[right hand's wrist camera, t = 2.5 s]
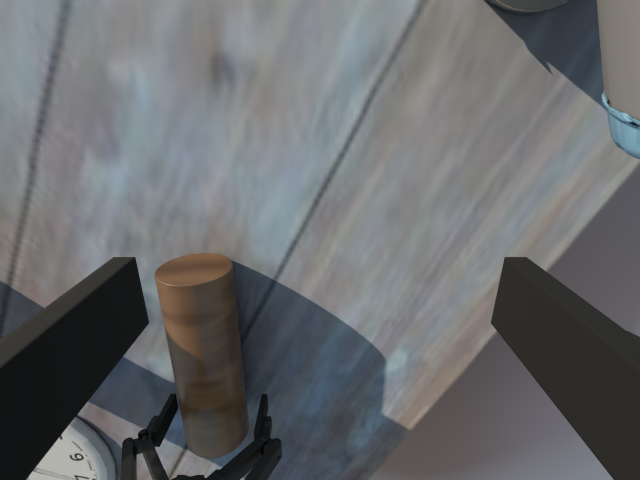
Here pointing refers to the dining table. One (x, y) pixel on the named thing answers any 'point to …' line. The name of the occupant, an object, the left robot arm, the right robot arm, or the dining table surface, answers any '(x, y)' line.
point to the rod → (205, 350)
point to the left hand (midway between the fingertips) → (219, 400)
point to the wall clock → (76, 457)
